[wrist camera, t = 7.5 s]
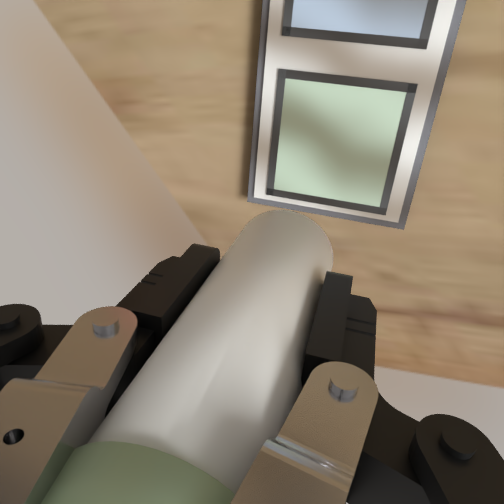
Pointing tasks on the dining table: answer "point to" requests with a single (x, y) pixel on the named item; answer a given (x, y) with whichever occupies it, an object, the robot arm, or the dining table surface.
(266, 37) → the picture board
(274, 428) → the marker
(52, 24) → the dining table surface
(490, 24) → the dining table surface
